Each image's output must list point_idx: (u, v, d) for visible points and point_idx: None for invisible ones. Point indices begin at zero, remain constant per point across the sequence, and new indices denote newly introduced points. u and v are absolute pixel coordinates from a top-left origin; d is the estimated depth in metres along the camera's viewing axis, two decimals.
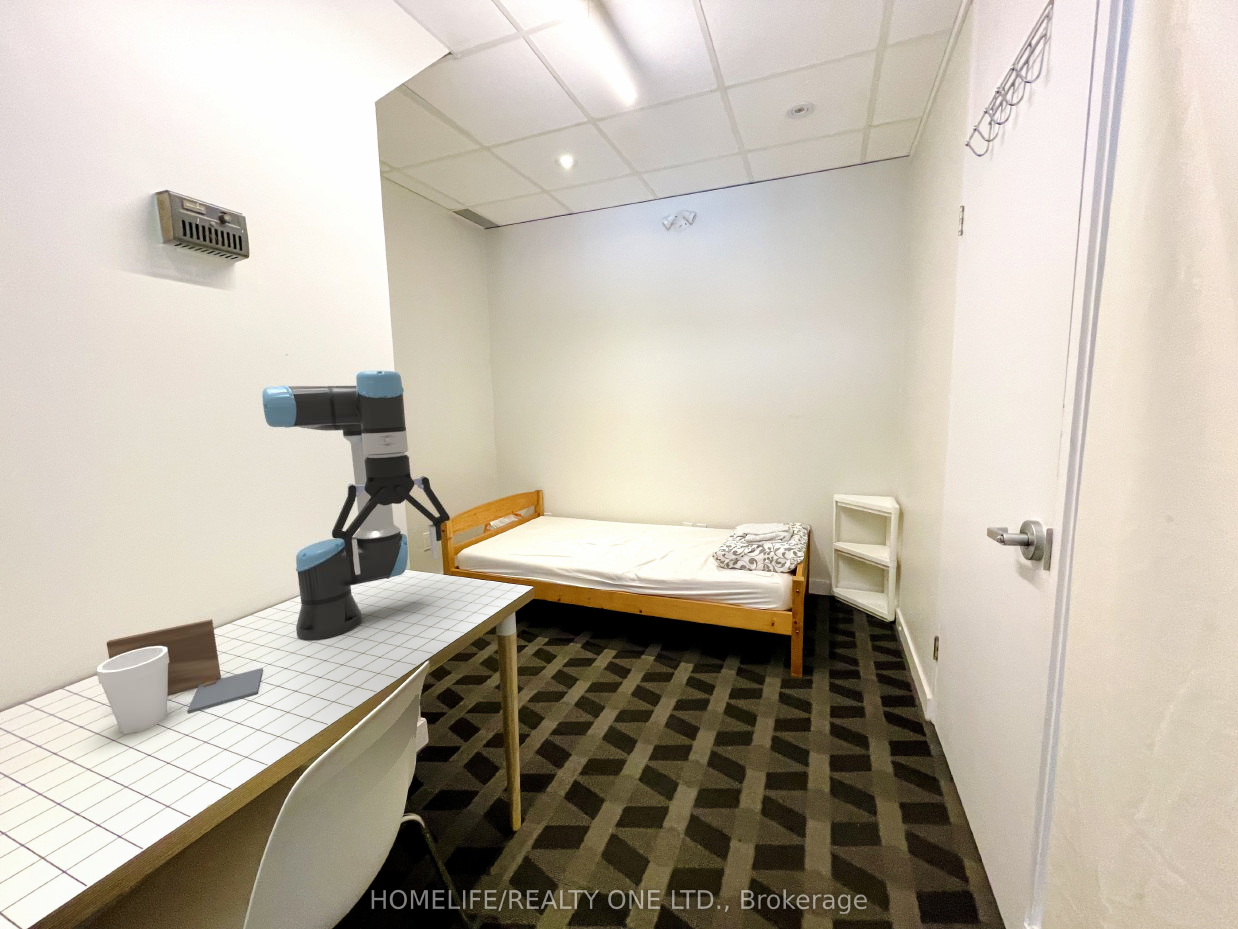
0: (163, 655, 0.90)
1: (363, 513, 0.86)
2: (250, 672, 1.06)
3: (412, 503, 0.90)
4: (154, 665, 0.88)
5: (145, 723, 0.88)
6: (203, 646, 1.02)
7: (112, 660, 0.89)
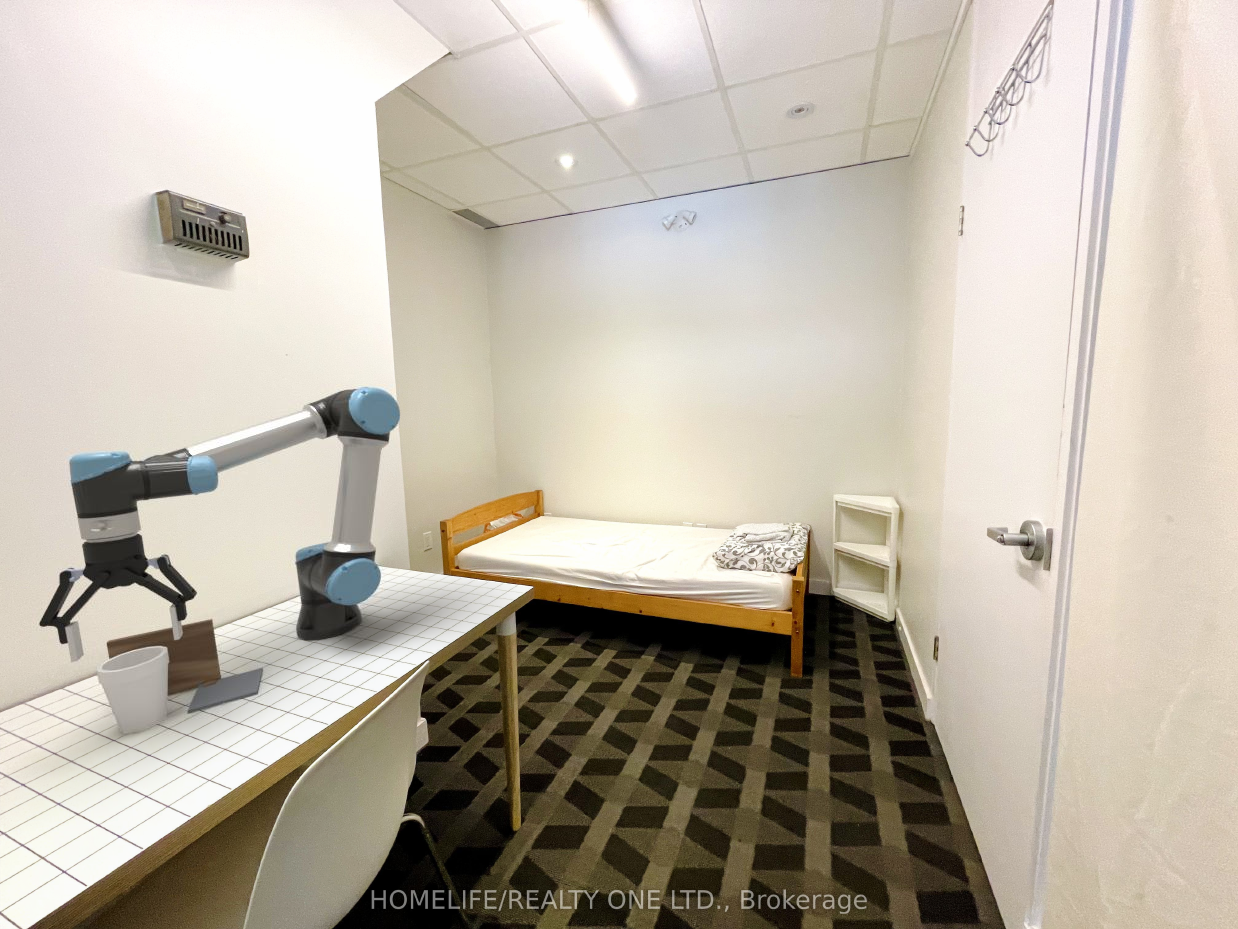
0: (163, 655, 0.90)
1: (79, 599, 0.84)
2: (250, 672, 1.06)
3: (143, 585, 0.88)
4: (154, 665, 0.88)
5: (145, 723, 0.88)
6: (203, 646, 1.02)
7: (112, 660, 0.89)
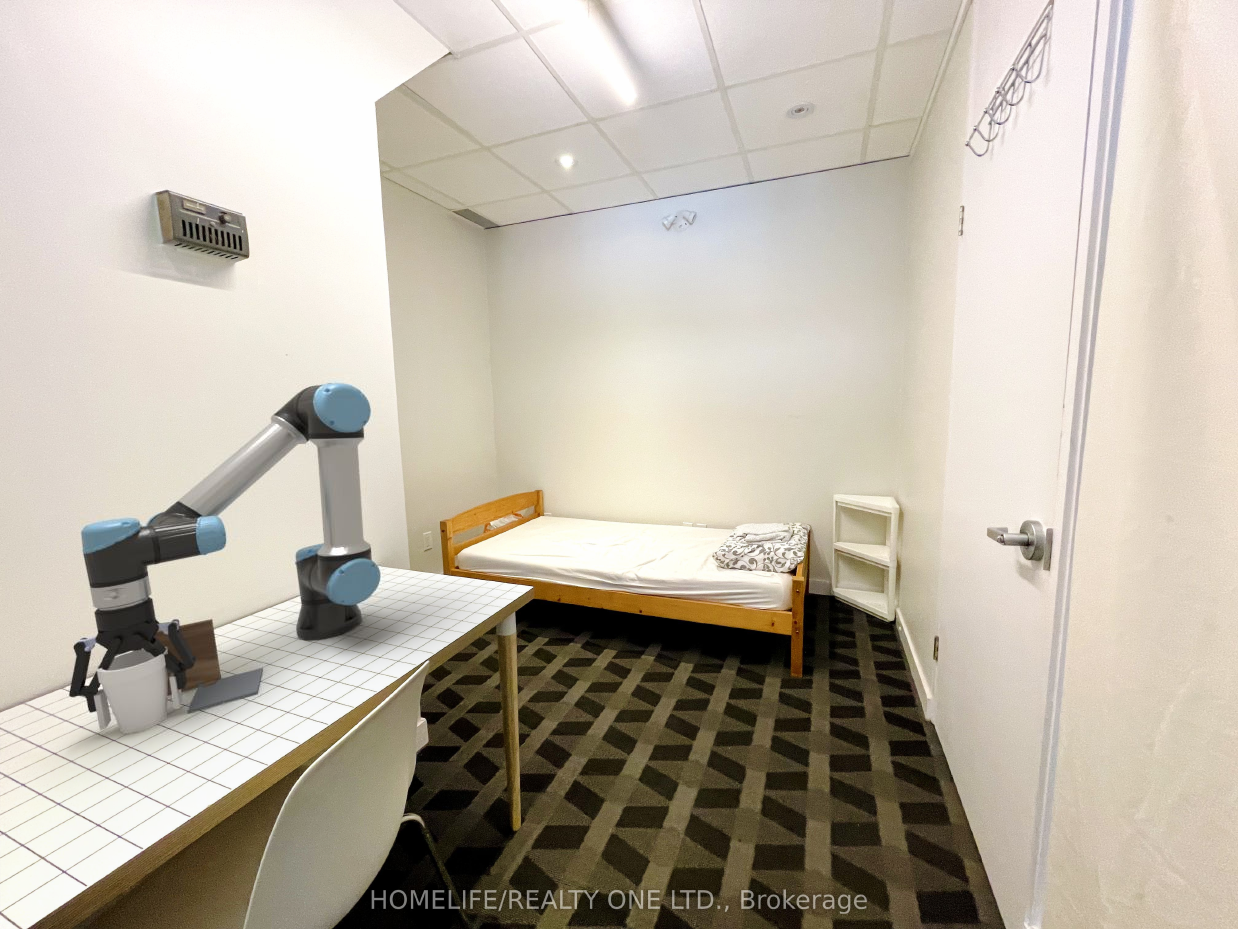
0: (163, 655, 0.90)
1: (100, 667, 0.86)
2: (250, 672, 1.06)
3: (150, 651, 0.89)
4: (154, 665, 0.88)
5: (145, 723, 0.88)
6: (203, 646, 1.02)
7: None
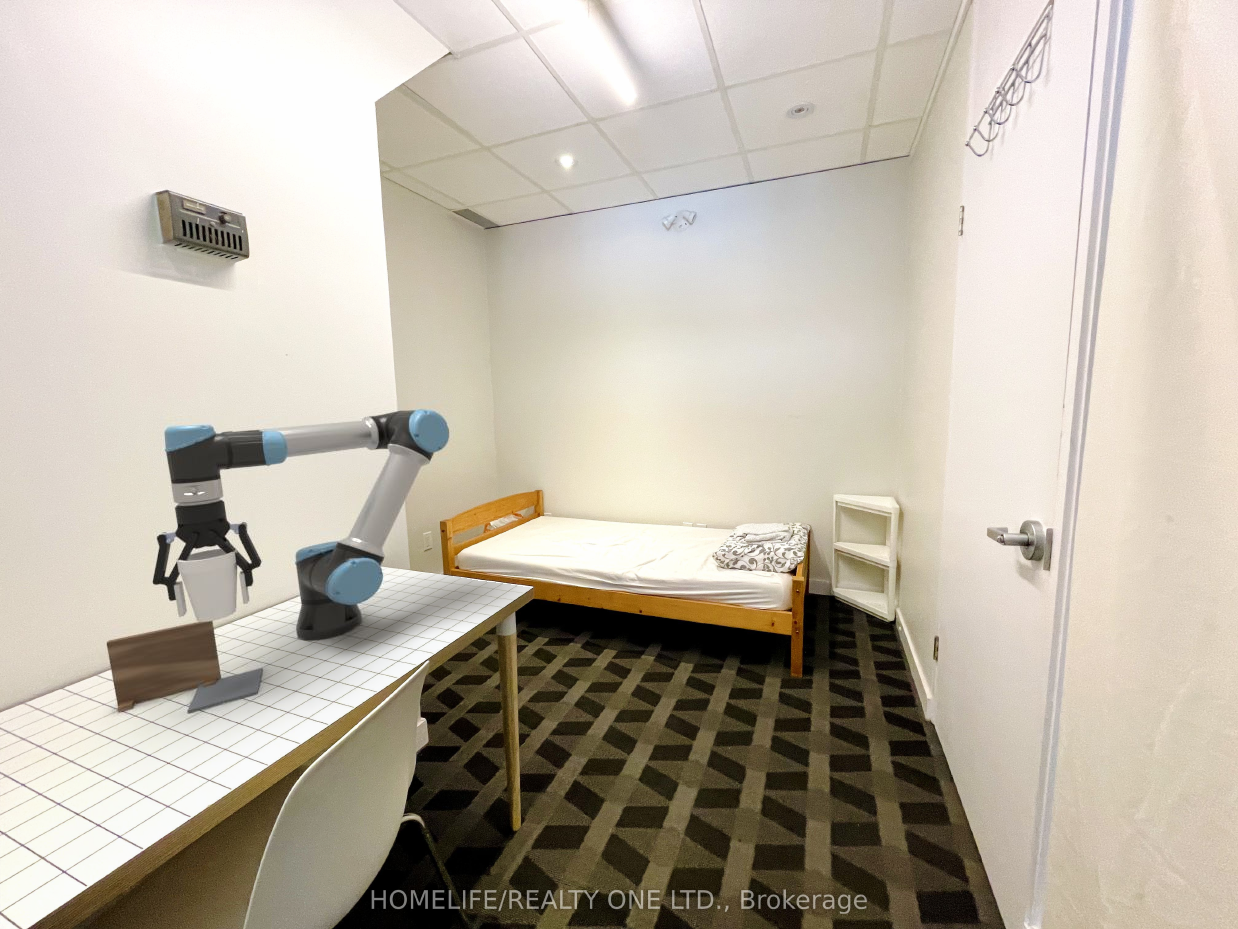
0: (234, 552, 0.98)
1: (179, 559, 0.94)
2: (250, 672, 1.06)
3: (223, 548, 0.97)
4: (227, 560, 0.96)
5: (219, 613, 0.96)
6: (203, 646, 1.02)
7: None
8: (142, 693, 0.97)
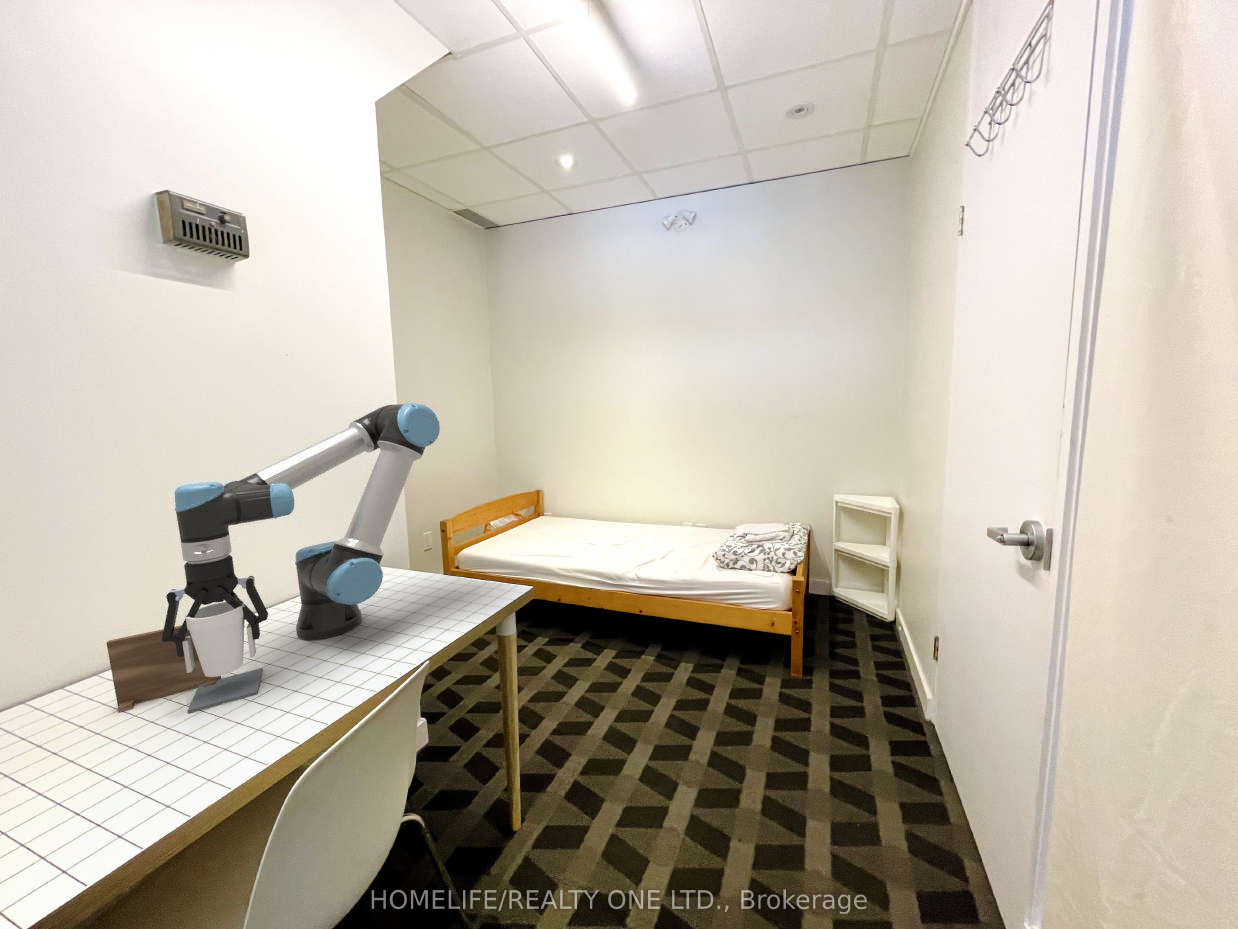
0: (241, 607, 0.99)
1: (188, 616, 0.95)
2: (250, 672, 1.06)
3: (230, 603, 0.98)
4: (235, 615, 0.97)
5: (226, 668, 0.97)
6: None
7: None
8: (142, 693, 0.97)
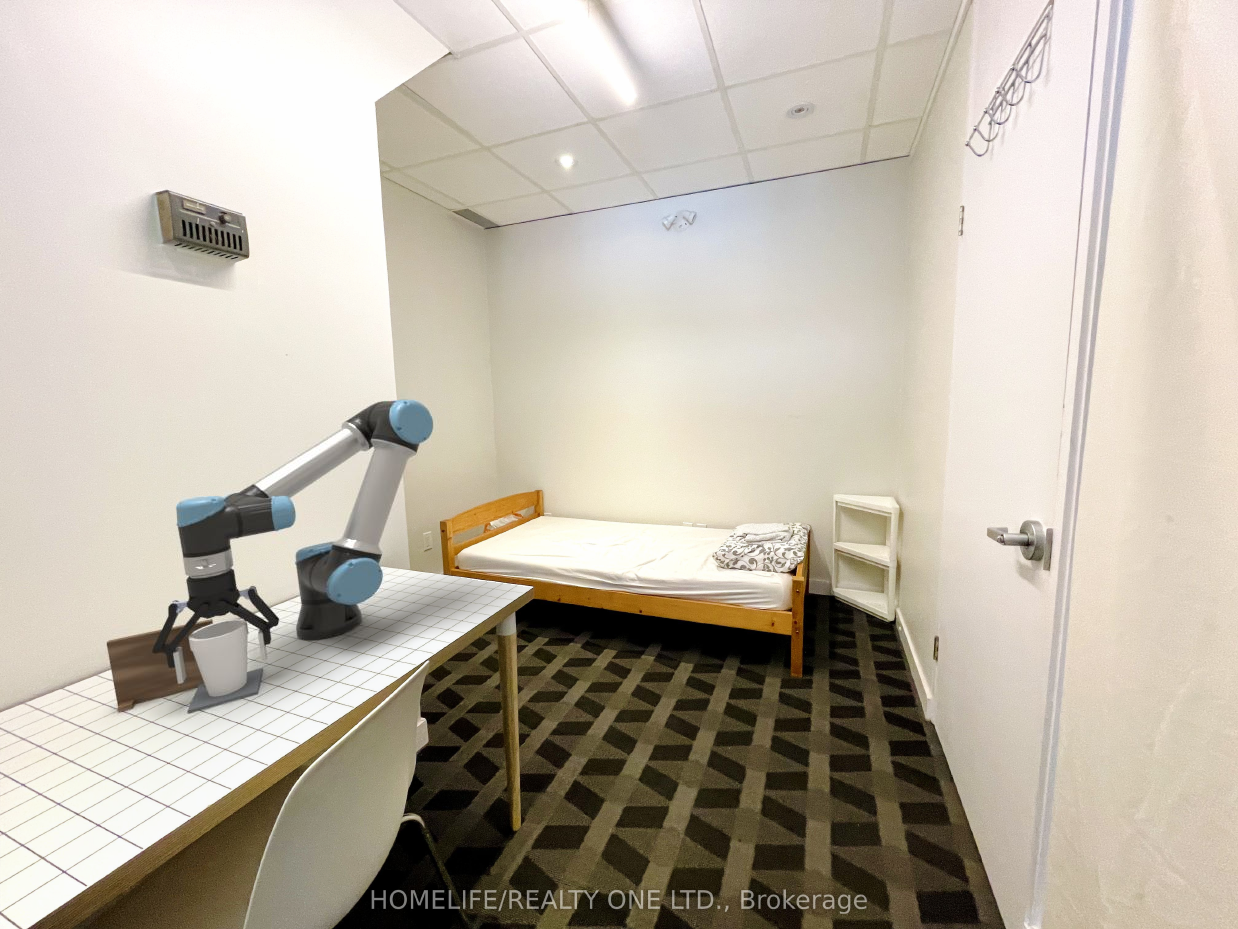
0: (244, 626, 1.00)
1: (184, 628, 0.95)
2: (250, 672, 1.06)
3: (237, 614, 0.99)
4: (238, 635, 0.98)
5: (230, 687, 0.98)
6: None
7: (199, 631, 0.99)
8: (142, 693, 0.97)
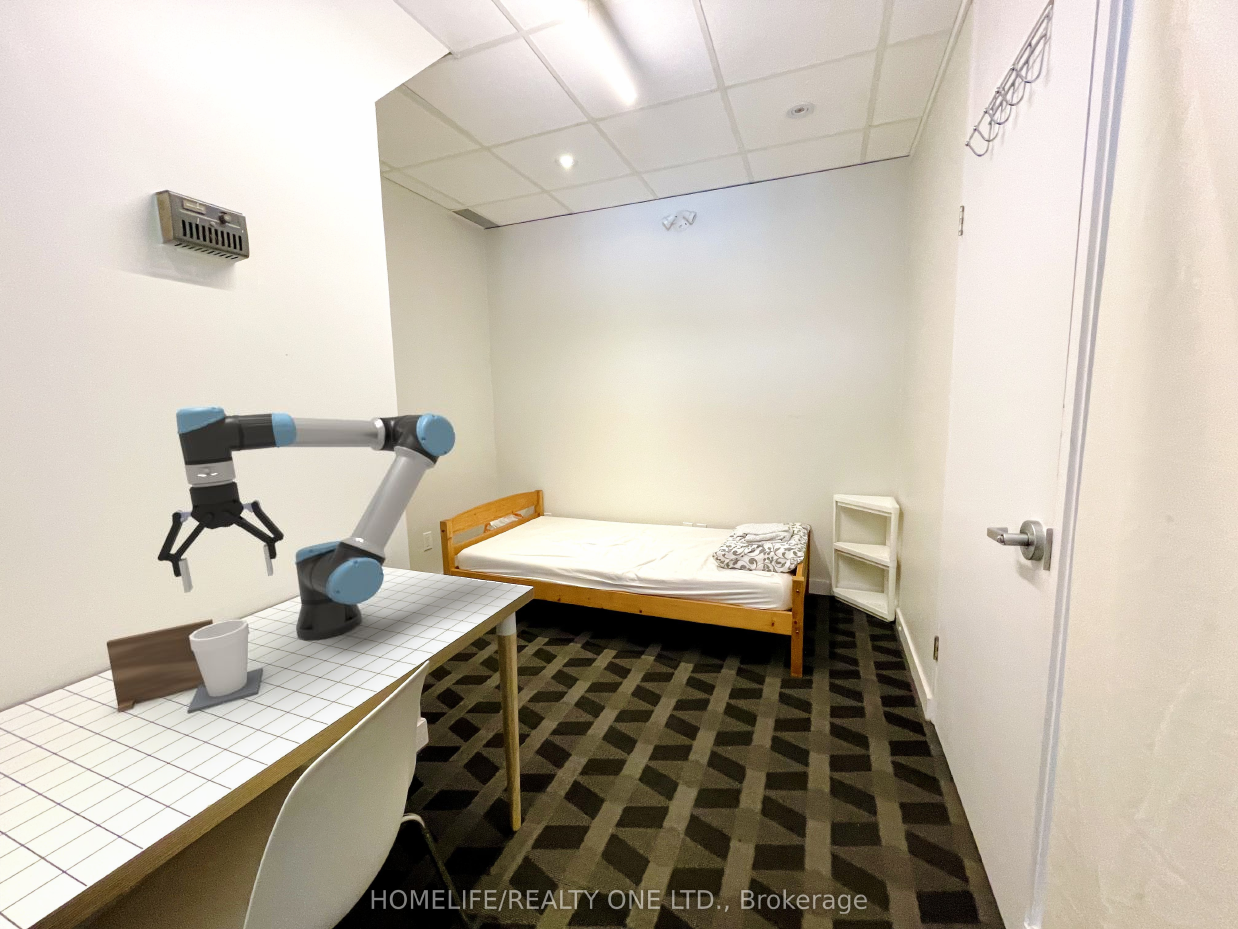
0: (245, 627, 1.00)
1: (189, 537, 0.95)
2: (250, 672, 1.06)
3: (241, 526, 0.99)
4: (238, 635, 0.98)
5: (230, 687, 0.98)
6: None
7: (200, 631, 0.99)
8: (142, 693, 0.97)
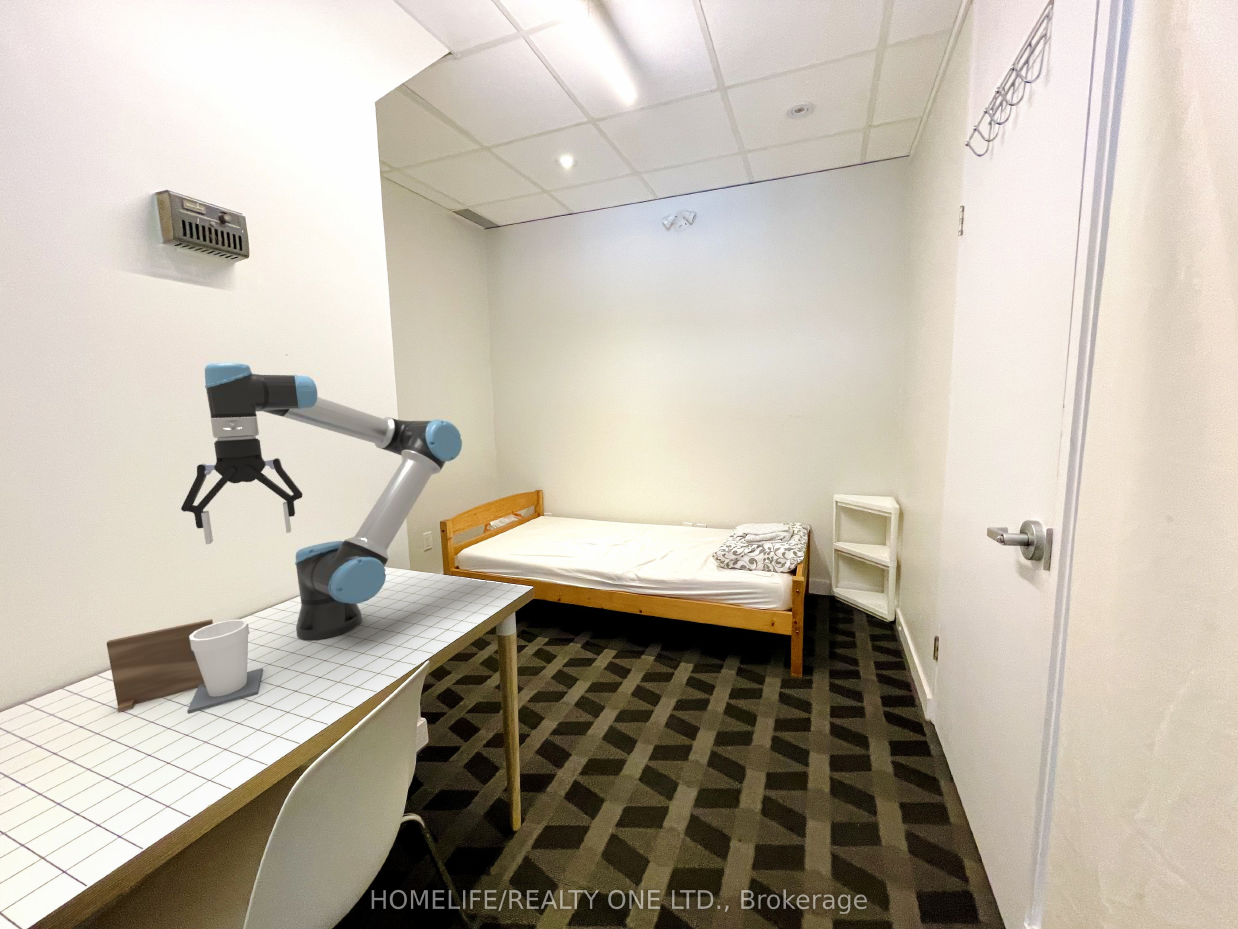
0: (245, 627, 1.00)
1: (212, 489, 0.97)
2: (250, 672, 1.06)
3: (262, 482, 1.01)
4: (238, 635, 0.98)
5: (230, 687, 0.98)
6: None
7: (200, 631, 0.99)
8: (142, 693, 0.97)
